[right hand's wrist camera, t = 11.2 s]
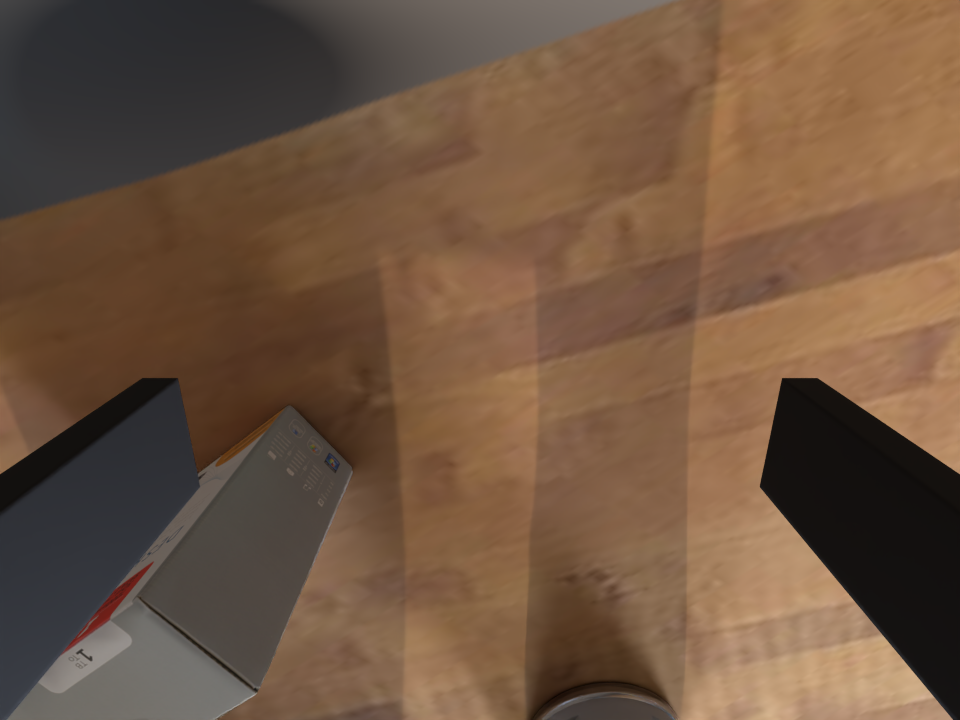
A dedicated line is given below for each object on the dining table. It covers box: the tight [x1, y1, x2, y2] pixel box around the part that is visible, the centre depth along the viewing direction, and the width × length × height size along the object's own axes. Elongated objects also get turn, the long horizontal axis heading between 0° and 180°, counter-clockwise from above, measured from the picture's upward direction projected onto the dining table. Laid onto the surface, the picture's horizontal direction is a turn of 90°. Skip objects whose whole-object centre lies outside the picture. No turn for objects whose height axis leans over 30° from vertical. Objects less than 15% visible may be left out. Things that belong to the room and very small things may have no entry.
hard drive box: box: [7, 405, 353, 720], centre depth 36 cm, size 16×8×20 cm, turn 127°
